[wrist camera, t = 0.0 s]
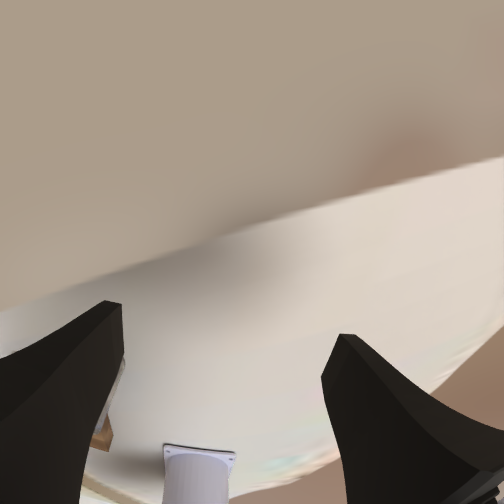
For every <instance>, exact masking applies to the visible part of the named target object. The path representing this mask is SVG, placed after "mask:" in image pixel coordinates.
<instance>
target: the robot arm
mask: <svg viewBox="0 0 504 504" xmlns="http://www.w3.org/2000/svg"><path fill="white" fill-rule="evenodd" d="M123 355H124V341H123V325H122V304H120V303H115V302H110V301H106V300H104V301H102V302H101V303H99V304H97V305H96V306H94V307H93V308H91V309H89V310H88V311H86V312H85V313H83V314H82V315H80V316H79V317H77V318H76V319H74V320H72V321H71V322H69V323H68V324H66V325H65V326H63V327H62V328H60V329H58V330H56V331H55V332H53V333H51V334H50V335H48V336H46V337H44V338H43V339H41V340H39V341H37V342H36V343H34V344H32V345H30V346H28V347H26V348H24V349H22V350H20V351H17V352H15V353H13V354H11V355H8V356H6V357H4V358H1V359H0V504H79V499H80V491H81V484H82V478H83V473H84V468H85V463H86V459H87V455H88V451H89V447H90V443H91V439H92V436H93V433H94V430H95V427H96V425H97V422H98V420H99V417H100V415H101V413H102V410H103V408H104V406H105V403H106V401H107V399H108V396H109V394H110V392H111V389H112V387H113V385H114V383H115V380H116V378H117V375H118V372H119V368H120V365H121V362H122V358H123ZM321 381H322V388H323V394H324V401H325V404H326V408H327V411H328V415H329V418H330V421H331V425H332V428H333V431H334V435H335V438H336V441H337V445H338V448H339V451H340V455H341V460H342V464H343V471H344V478H345V485H346V494H347V504H504V497H503V498H502V499H501V500H499V501H498V502H497V500H496V498H495V497H496V496H497V495H498V494H499V493H500V491H499V489H498V487H497V486H498V485H499V484H500V483H501V482H502V481H504V431H503V430H499V429H496V428H493V427H490V426H488V425H485V424H482V423H480V422H477V421H475V420H473V419H470V418H469V417H466V416H464V415H463V414H460V413H459V412H457V411H455V410H453V409H451V408H449V407H447V406H446V405H444V404H443V403H441V402H440V401H438V400H436V399H435V398H433V397H432V396H430V395H429V394H427V393H426V392H425V391H423V390H422V389H420V388H419V387H418V386H417V385H415V384H414V383H413V382H411V381H410V380H409V379H408V378H406V377H405V376H404V375H403V374H401V373H400V372H399V371H398V370H397V369H395V368H394V367H393V366H392V365H391V364H390V363H389V362H387V361H386V360H385V359H384V358H383V357H382V356H381V355H379V354H378V353H377V352H376V351H375V350H374V349H373V348H371V347H370V346H369V345H368V344H367V343H365V342H364V341H363V340H362V339H360V338H359V337H358V336H356V335H354V334H339V336H338V338H337V341H336V343H335V346H334V348H333V350H332V353H331V355H330V357H329V360H328V362H327V364H326V366H325V369H324V371H323V373H322V375H321ZM163 450H164V463H165V475H166V477H165V485H164V493H163V501H162V504H229V480H228V479H229V476H230V473H231V470H232V467H233V464H234V462H235V459H236V454H234V453H228V452H216V451H207V450H198V449H191V448H184V447H177V446H171V445H164V448H163Z"/></svg>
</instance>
